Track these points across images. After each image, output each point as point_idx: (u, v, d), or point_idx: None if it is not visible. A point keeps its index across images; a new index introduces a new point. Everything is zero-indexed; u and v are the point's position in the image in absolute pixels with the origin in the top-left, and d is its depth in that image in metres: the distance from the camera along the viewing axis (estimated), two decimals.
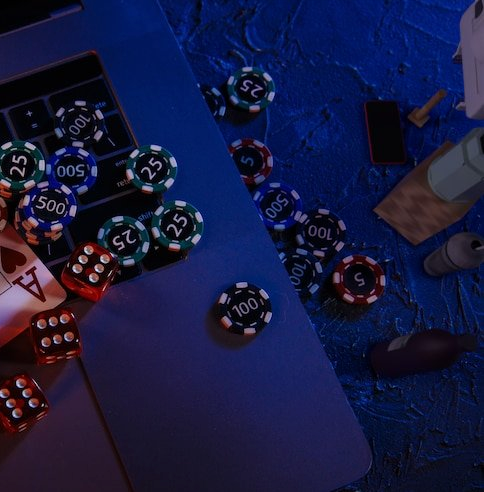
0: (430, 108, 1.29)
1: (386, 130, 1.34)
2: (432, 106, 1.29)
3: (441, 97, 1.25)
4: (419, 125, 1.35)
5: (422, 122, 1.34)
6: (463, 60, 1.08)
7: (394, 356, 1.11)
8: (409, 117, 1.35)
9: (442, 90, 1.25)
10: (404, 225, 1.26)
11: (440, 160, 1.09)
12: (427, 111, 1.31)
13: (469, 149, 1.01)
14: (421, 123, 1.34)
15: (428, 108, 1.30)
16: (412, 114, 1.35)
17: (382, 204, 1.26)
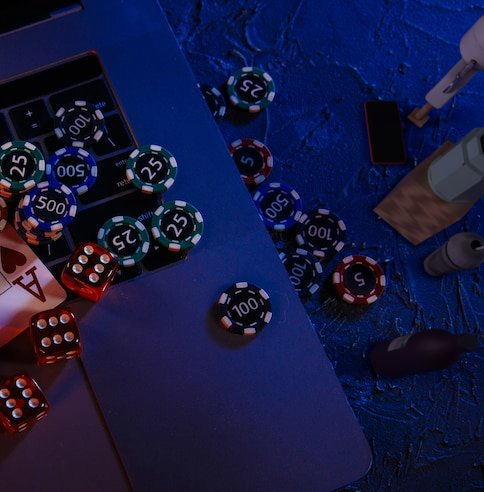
0: (430, 108, 1.29)
1: (386, 130, 1.34)
2: (432, 106, 1.29)
3: None
4: (419, 125, 1.35)
5: (422, 122, 1.34)
6: None
7: (394, 356, 1.11)
8: (409, 117, 1.35)
9: None
10: (404, 225, 1.26)
11: (440, 160, 1.09)
12: (427, 111, 1.31)
13: (469, 149, 1.01)
14: (421, 123, 1.34)
15: (428, 108, 1.30)
16: (412, 114, 1.35)
17: (382, 204, 1.26)
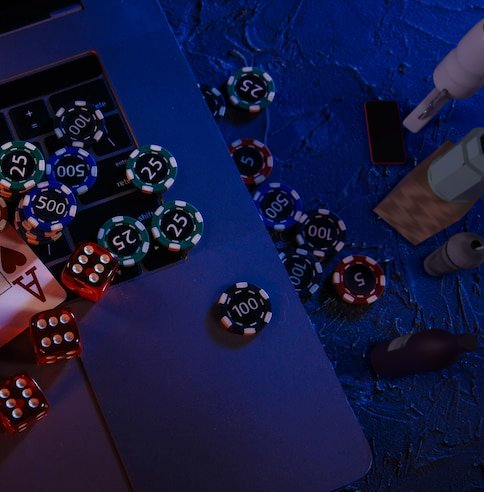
0: None
1: (386, 130, 1.34)
2: None
3: None
4: None
5: None
6: None
7: (394, 356, 1.11)
8: None
9: None
10: (404, 225, 1.26)
11: (440, 160, 1.09)
12: None
13: (469, 149, 1.01)
14: None
15: None
16: None
17: (382, 204, 1.26)
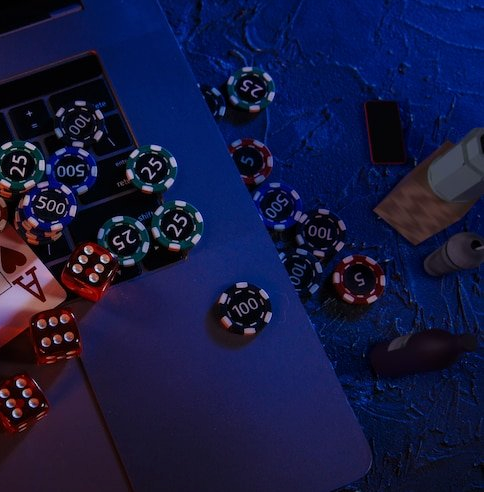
0: None
1: (386, 130, 1.34)
2: None
3: None
4: None
5: None
6: None
7: (394, 356, 1.11)
8: None
9: None
10: (404, 225, 1.26)
11: (440, 160, 1.09)
12: None
13: (469, 149, 1.01)
14: None
15: None
16: None
17: (382, 204, 1.26)
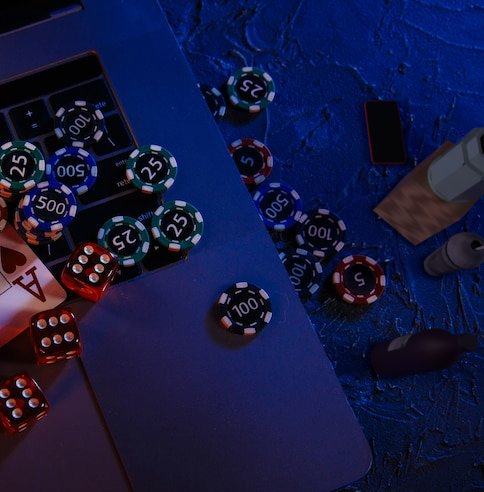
0: None
1: (386, 130, 1.34)
2: None
3: None
4: None
5: None
6: None
7: (394, 356, 1.11)
8: None
9: None
10: (404, 225, 1.26)
11: (440, 160, 1.09)
12: None
13: (469, 149, 1.01)
14: None
15: None
16: None
17: (382, 204, 1.26)
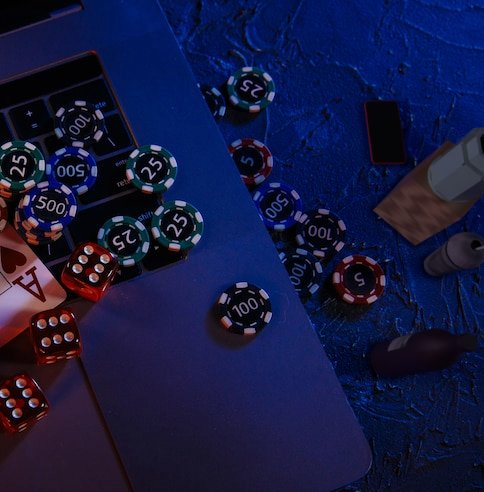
0: None
1: (386, 130, 1.34)
2: None
3: None
4: None
5: None
6: None
7: (394, 356, 1.11)
8: None
9: None
10: (404, 225, 1.26)
11: (440, 160, 1.09)
12: None
13: (469, 149, 1.01)
14: None
15: None
16: None
17: (382, 204, 1.26)
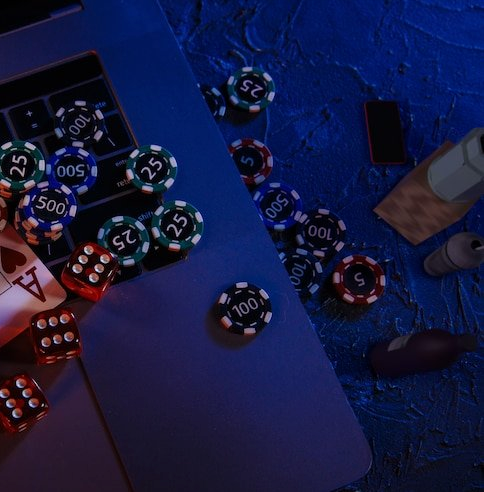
0: None
1: (386, 130, 1.34)
2: None
3: None
4: None
5: None
6: None
7: (394, 356, 1.11)
8: None
9: None
10: (404, 225, 1.26)
11: (440, 160, 1.09)
12: None
13: (469, 149, 1.01)
14: None
15: None
16: None
17: (382, 204, 1.26)
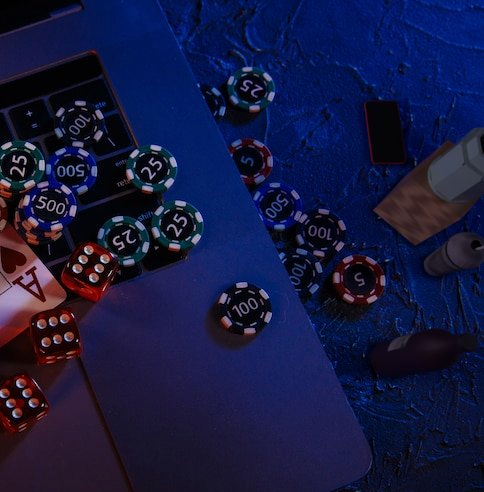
0: None
1: (386, 130, 1.34)
2: None
3: None
4: None
5: None
6: None
7: (394, 356, 1.11)
8: None
9: None
10: (404, 225, 1.26)
11: (440, 160, 1.09)
12: None
13: (469, 149, 1.01)
14: None
15: None
16: None
17: (382, 204, 1.26)
